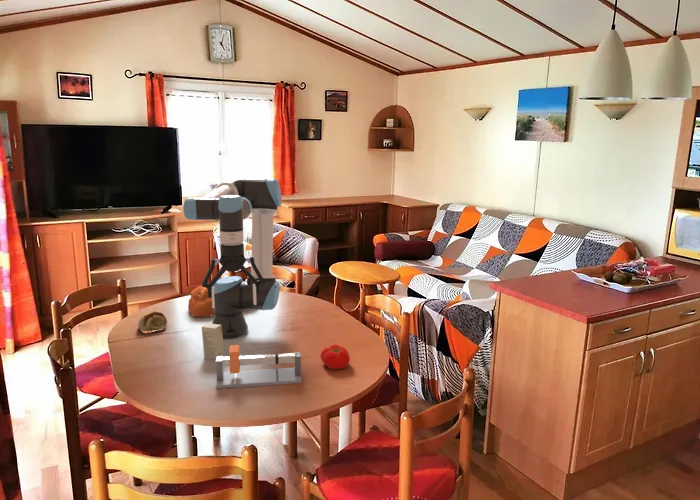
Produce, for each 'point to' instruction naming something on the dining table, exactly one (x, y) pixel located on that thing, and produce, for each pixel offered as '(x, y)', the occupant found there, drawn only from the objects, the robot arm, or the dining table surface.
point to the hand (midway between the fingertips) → (234, 305)
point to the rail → (260, 362)
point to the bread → (200, 303)
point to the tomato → (335, 357)
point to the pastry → (152, 321)
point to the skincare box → (212, 340)
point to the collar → (234, 359)
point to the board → (259, 378)
